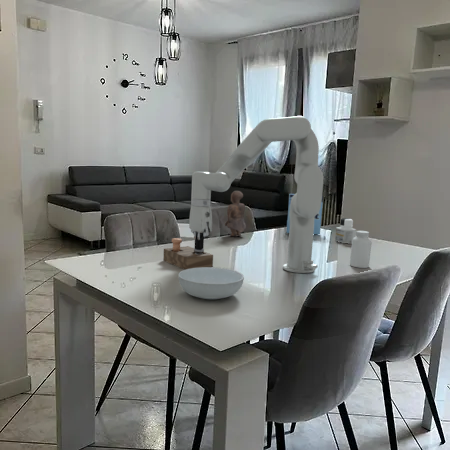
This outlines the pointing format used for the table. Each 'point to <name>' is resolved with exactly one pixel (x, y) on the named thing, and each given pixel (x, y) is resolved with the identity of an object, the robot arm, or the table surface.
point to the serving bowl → (210, 282)
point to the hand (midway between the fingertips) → (198, 248)
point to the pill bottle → (360, 250)
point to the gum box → (316, 218)
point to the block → (187, 258)
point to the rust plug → (176, 244)
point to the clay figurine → (236, 214)
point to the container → (345, 231)
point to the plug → (198, 251)
